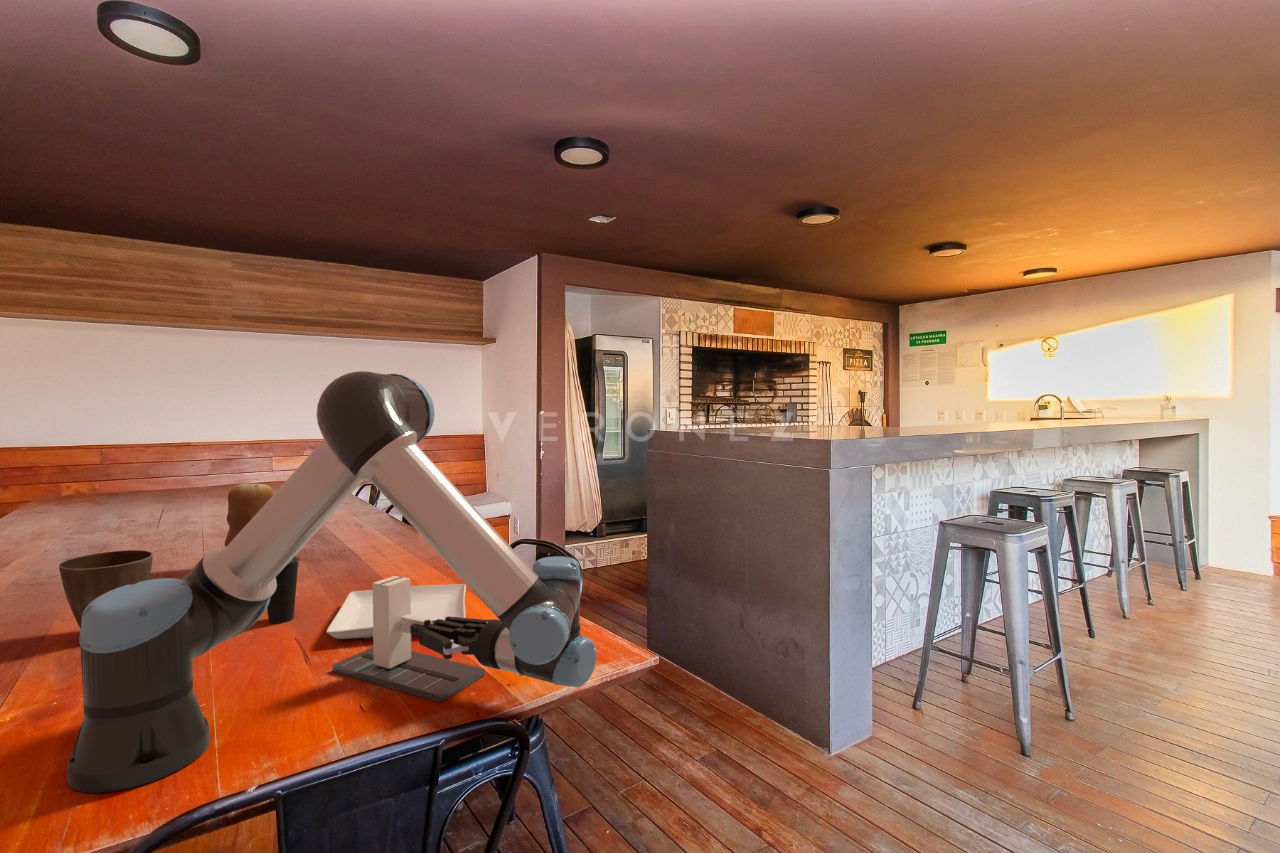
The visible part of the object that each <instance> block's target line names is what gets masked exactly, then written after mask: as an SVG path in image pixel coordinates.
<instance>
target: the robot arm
mask: <svg viewBox="0 0 1280 853" xmlns="http://www.w3.org/2000/svg"><path fill="white" fill-rule="evenodd" d="M434 406H435V405H434V402H433V400H432V397H431V395H430V394H429V391H428V390H427V389H426V388H425V387H424V386H423V385H422V384H421V383H420V382H418V381H417V380H415V379H412V378H410V377H408V376H405V375H403V374H398V373H388V374H387V373H386V374H385V373H377V372H373V371H363V370H362V371H353V372H348V373H346V374H343V375H341V376H339V377H337V378H335V379H333V380H332V382H330V383H329V384H328V385H327V386H326V387H325V389H324V390H323V391H322V392H321V395H320V397H319V399H318V402H317V407H316V420H317V421H316V422H317V425H318V428H319V431H320V433H321V435H322V438H323V440H322V441H321V442H320V443H319V444H318V445H317V446H316V447H315V448H314V450H313V451H312V452H311V453H310V454H309V455H308V456H307V457H306V458H305V459H304V461H303V462H302V463H301V464H300V465H299V466H298V467H297V468H296V469H295V470H294V471H293V473H292V474H291V475H290V476H289V477H288V478H287V479H286V480H285V481H284V483H282V485H281V486H280V487H279V488H278V489H277V490H276V491H275V493H273V496H272V497H271V498H270V499H269V500H268V502H267V503H266V504H265V505H264V506H263V507H262V508H261V509H260V510H259V511H258V513H257V514H256V515H255V516H254V517H253V518H252V519H251V520H250V521H249V523H248V524H247V525H246V526H245V527H244V528H243V529H242V530H241V531H240V532H239V534H238V535H237V536H236V537H235V538H234V539H233V540H232V541H231V542H230V544H229V545H228V546H227V547H225V546H218V547H214V548H211V549H210V550H209V551H207V553H205V555H203V557H202V558H201V559H200V560H199V561H198V562H197V563H196V564H195V566H194V567H193V568H192V569H191V570H190V571H189V572H188V573H187V574H186V575H185V576H183V577H182V578H180V579H179V578H175V577H174V578H173V577H166V578H165V577H163V578H161V577H160V578H153V579H149V580H146V581H141V582H138V583H136V584H134V585H125V586H122V587H119V588H116V589H114V590H111V591H109V592H107V593H105V594H103V595H101V596H99V597H97V598H96V599H94V600H93V601H92V602H91V603H90V604H89V605H88V606H87V607H86V608H85V610H84V612H83V614H82V622H81V629H80V631H79V636H78V641H79V645H80V663H81V664H80V665H81V680H82V684H81V686H82V702H83V719H82V722H81V724H80V728H79V730H78V733H77V736H76V739H75V741H74V744H73V747H72V752H71V754H70V755H69V757H68V760H67V764H66V777H67V778H66V779H67V780H66V781H67V785H68V786H69V787H70V788H71V789H72V790H75V791H76V792H81V793H91V794H92V793H93V794H94V793H95V794H97V793H99V794H100V793H109V792H117V791H122V790H126V789H127V790H128V789H131V788H135V787H138V786H143V785H144V784H148V783H151V782H154V781H157V780H159V779H162V778H164V777H167V776H169V775H171V774H174V773H175V772H177V771H179V770H181V769H183V768H185V767H186V766H188V765H189V764H191V763H192V762H194V761H195V760H197V759H198V758H199V757H200V756H201V755H203V753H205V751H206V750H207V749H208V747H209V745H210V742H211V741H210V738H211V737H210V735H211V734H210V733H211V732H210V731H211V730H210V724H209V723H210V722H208V720H207V717H205V716H204V713H203V710H202V708H201V705H200V703H199V701H198V699H197V697H196V696H197V695H196V694H195V691H194V673H193V672H194V667H193V666H194V662H193V660H196V658H198V657H200V656H202V655H203V654H205V653H206V652H208V651H210V650H212V649H213V648H215V647H217V646H218V645H220V644H222V643H225V642H226V641H228V640H230V639H231V638H234V637H236V636H239V635H241V634H242V633H244V632H245V631H247V630H248V629H249V628H251V627H252V626H253V625H254V624H255V623H257V621H258V620H260V618H261V617H262V616H263V615H264V613H265V612H266V611H267V607H268V604H269V602H270V597H271V596H272V595H273V593H274V592H275V590H276V587H277V582H276V578H275V577H276V576H277V575H278V574H279V573H280V572H281V571H282V569H283V568H284V567H285V566H286V565H287V564H288V563H289V562H290V561H291V560H292V558H293V557H294V556H297V554H298V553H299V552H300V551H301V550H302V549H303V548H304V546H305V545H306V544H307V543H308V542H309V541H310V540H311V539H312V538H313V536H315V535H316V533H317V532H318V531H319V530H320V529H321V528H322V527H323V526H324V524H325V523H326V522H328V520H329V519H331V517H332V516H333V514H334V513H335V512H337V510H338V509H339V508H340V507H341V506H342V505H343V504H344V503H345V502H346V500H347V499H348V498H349V497H350V496H351V495H352V494H353V492H354V491H355V490H356V489H357V488H358V487H359V486H360V485H361V484H362V483H363V482H364V481H368V482H371V483H372V484H373V485H374V487H376V489H378V491H380V493H381V494H382V495H383V496H384V497H385V499H387V500H388V501H389V503H391V505H392V506H393V507H394V508H395V509H396V510H397V511H398V512H399V513H400V514H401V515H402V516H403V518H404V519H406V520H407V522H408V523H409V524H410V525H411V526H412V527H413V529H414V530H415V531H417V533H418V534H420V536H421V537H422V538H423V539H424V540H425V542H427V544H428V545H429V546H430V547H431V548H432V549H434V551H435V552H436V553H437V555H439V556H440V557H441V558H442V559H443V561H444V562H446V564H447V565H449V567H450V568H451V569H452V570H453V571H454V572H455V574H456V575H457V576H458V577H459V578H460V579H461V580H463V582H464V584H465V585H466V586H467V587H468V588H470V589H471V591H473V592H474V593H475V595H476V596H477V597H478V598H479V599H480V600H481V601H482V602H483V604H485V606H486V607H487V608H488V609H489V610H490V611H491V612H492V613H493V614H494V615H495V616H496V617H497V619H496V618H493V619H483V618H469V617H468V618H467V617H466V618H460V617H446V618H445V620H442V619H437V620H435V621H434V620H431V619H426V618H422V617H417V616H412V615H408V614H406V615H404V616H401V632H405V633H409V634H411V635H413V636H418V639H419V640H418V644H419V645H421V646H423V647H425V648H427V649H429V650H430V651H433V652H435V653H438V654H439V655H441V656H442V657H443V659H446V660H451V659H452V658H453V655H454V654H456V653H460V654H462V655H465V656H466V655H467V656H469V655H470V656H474V657H475V658H476V660H477V662H478V663H479V664H480V665H482V666H483V667H487V668H491V669H496V670H502V671H504V672H509V673H514V674H517V675H519V676H520V677H523V676H525V677H527V678H532V679H537V680H538V681H539V680H540V681H543V682H548V683H552V684H553V685H555V686H563V687H564V686H565V687H568V688H570V687H572V688H581V687H582V686H583V685H585V684H586V683H587V682H588V681H589V680H590V679H591V677H592V675H593V673H594V670H595V667H596V662H597V648H596V647H595V643H594V641H593V640H592V639H590V638H588V637H586V636H585V635H581V622H580V621H581V620H580V617H581V616H580V614H581V611H580V610H581V582H582V579H581V573H580V572H581V571H580V563H579V561H577V560H576V559H575V558H573V557H568V556H562V555H561V556H560V555H559V556H547V557H542V558H539V559H537V560H536V561H534V563H533V564H532V568H531V567H530V566H529V565H528V564H527V563H526V561H524V560H523V559H522V558H521V556H520V555H519V554H518V553H517V552H516V550H514V549H513V548H512V546H511V545H510V544H509V543H508V542H507V541H506V540H505V539H504V538H503V537H502V535H501V534H499V532H498V531H497V530H496V529H495V528H494V527H493V526H492V524H490V522H488V521H487V519H486V518H485V517H484V516H483V515H482V514H481V513H480V512H479V511H478V510H477V508H475V506H474V505H473V504H472V503H471V502H470V501H469V499H467V498H466V497H465V495H464V494H463V493H462V492H461V491H460V490H459V489H458V487H456V486H455V484H454V483H453V482H452V481H451V480H450V479H449V478H448V477H447V476H446V474H444V472H443V471H442V470H441V469H440V468H439V467H438V466H437V465H436V464H435V463H434V462H433V461H432V460H431V458H429V457H428V455H427V454H426V453H425V451H423V450H422V449H421V448H420V446H419V445H418V443H419V442H421V441H423V439H425V438H426V436H427V435H428V434H429V433H430V431H431V429H432V427H433V425H434V421H435V407H434Z"/></svg>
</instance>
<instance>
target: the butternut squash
mask: <svg viewBox="0 0 1280 853" xmlns="http://www.w3.org/2000/svg"><path fill="white" fill-rule="evenodd" d="M273 495H274V492H273V489H272V487H271V486H269V485H268V484H264V483H241V484H240V483H239V484H237V485H235V486H233V487H232V488H231V489H230V490H229V492H228V495H227V503H228V504H227V505H228V506H227V507H228V508H227V511H228V512H227V515H226V521H227V524H228V531H227V535H226V537H225V539H224V547H227V546H228V545H229V544H230V542H231V541H232V540H233V539H234V538H235V537H236V536H237V535H238V534H239V532H240V531H241V530H242V529H243V528H244V527H245V526H246V525H247V524H248V523H249V521H250V520H251V519H252V518H253V517H254V516H255V515H256V514H257V513H258V511H259V510H260V509H261V508H262V507H263V506H264V505H265V504H266V503H267V502H268V500H269V499H270V498H271V497H272V496H273Z"/></svg>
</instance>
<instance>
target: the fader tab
mask: <svg viewBox="0 0 1280 853" xmlns="http://www.w3.org/2000/svg"><path fill="white" fill-rule="evenodd" d="M410 586H411V578H409V577H404V576H397V575H393V576H390V577H387V578H384V579H380V580H377V581H374V582H372V590H373V638H372V640H373V641H372V642H373V646H372V647H373V651H374V665H377V666H381V667H385V668H388V669H390V668H392V667H394V666H396V665H398V664H400V663H402V662H404V661H407V660H409V659H411V651H412V634H409V633H405V632H401V616H404V615H406V614H408V615H411V596H410Z"/></svg>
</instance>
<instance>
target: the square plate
mask: <svg viewBox="0 0 1280 853" xmlns="http://www.w3.org/2000/svg"><path fill="white" fill-rule="evenodd" d="M466 591H467V584H466V583H457V584H456V583H455V584H453V583H452V584H431V585H430V584H428V585H427V584H426V585H412V586H411V585H410V596H411V615H412V616H417V617H422V618H426V619H431V620H434V621H435V620H437V619H442V620H445V618H446V617H460V618H467V616H466V603H465V602H466V601H465V600H466ZM325 633H326V634H328V635H330V636H331V637H332V638H334V639H339V640H341V639H342V640H344V639H345V640H347V639H358V638H365V639H372V638H371V637H373V589H367V590H354V591H350V592H349V593H348V595H347V596H346V598H345V600H344V602H343V603H342V605H341V606H340V608H339V610H338V611H337V613H336V615H335V616H334V618H333V619H332V621H331V623H330V624H329V626H327V629H326V632H325Z"/></svg>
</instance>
